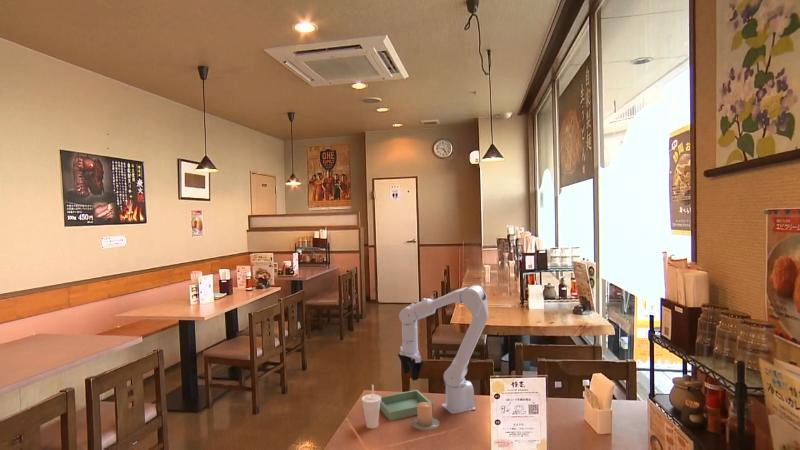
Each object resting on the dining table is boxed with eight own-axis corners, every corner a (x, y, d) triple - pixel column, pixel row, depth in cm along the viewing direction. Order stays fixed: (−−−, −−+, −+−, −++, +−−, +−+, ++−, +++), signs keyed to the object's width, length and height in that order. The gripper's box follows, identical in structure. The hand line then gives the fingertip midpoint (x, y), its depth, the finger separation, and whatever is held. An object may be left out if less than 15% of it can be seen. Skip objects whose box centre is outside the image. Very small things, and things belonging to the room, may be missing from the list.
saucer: (431, 416, 147) (431, 414, 147) (444, 428, 139) (444, 426, 139) (407, 421, 143) (407, 419, 143) (418, 434, 135) (418, 432, 135)
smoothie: (380, 432, 137) (378, 389, 136) (360, 431, 138) (359, 388, 137) (383, 422, 143) (382, 381, 142) (364, 421, 144) (363, 380, 143)
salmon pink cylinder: (428, 418, 144) (428, 400, 144) (434, 425, 139) (434, 406, 139) (415, 421, 142) (414, 403, 142) (421, 427, 138) (420, 409, 138)
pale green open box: (417, 398, 161) (417, 389, 161) (432, 412, 149) (432, 403, 149) (376, 406, 155) (376, 397, 155) (389, 422, 143) (389, 412, 143)
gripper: (392, 335, 163) (393, 371, 164) (407, 346, 150) (408, 385, 150) (409, 333, 166) (410, 368, 166) (426, 343, 153) (427, 381, 153)
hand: (410, 376), depth 159 cm, fingers open, 7 cm apart
